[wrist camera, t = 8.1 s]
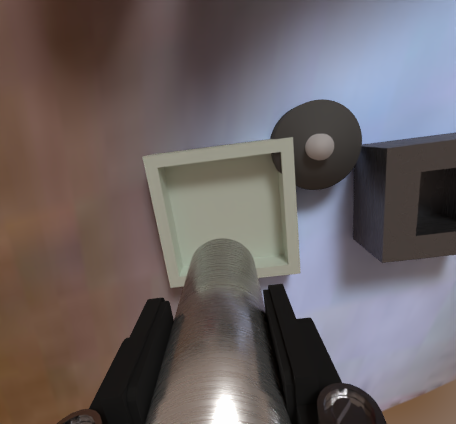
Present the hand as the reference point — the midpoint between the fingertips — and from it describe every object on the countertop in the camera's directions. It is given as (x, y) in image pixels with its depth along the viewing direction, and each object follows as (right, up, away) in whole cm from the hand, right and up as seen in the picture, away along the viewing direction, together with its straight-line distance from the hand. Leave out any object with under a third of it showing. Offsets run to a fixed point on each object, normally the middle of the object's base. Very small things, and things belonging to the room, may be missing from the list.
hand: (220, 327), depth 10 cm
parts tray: (0, +5, +15) cm, 16 cm away
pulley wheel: (+7, +10, +13) cm, 18 cm away
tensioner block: (+17, +7, +14) cm, 23 cm away
